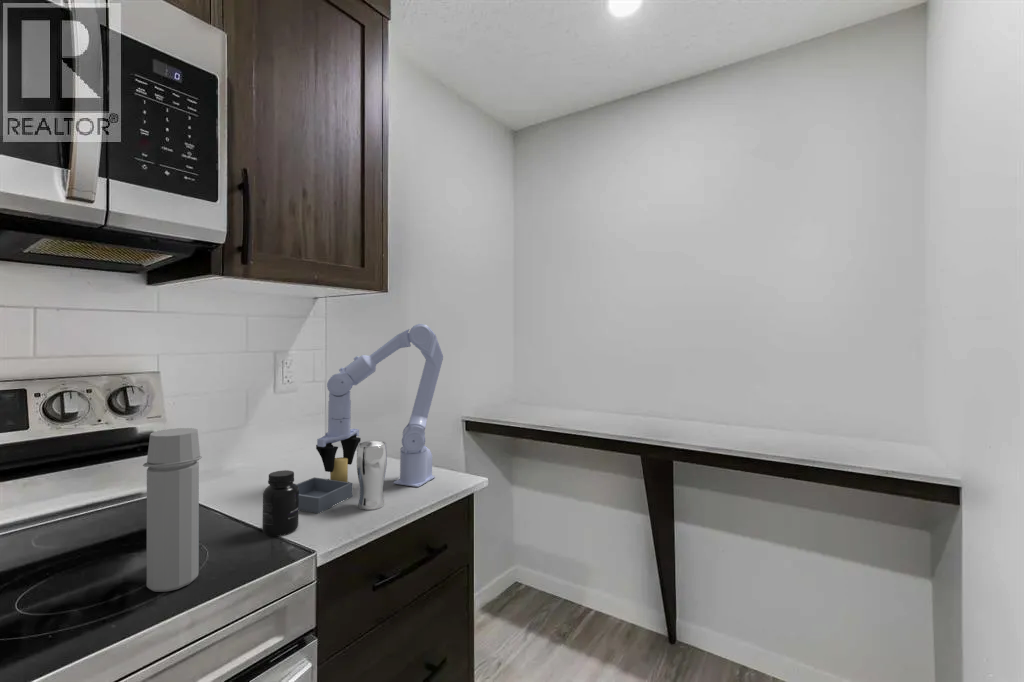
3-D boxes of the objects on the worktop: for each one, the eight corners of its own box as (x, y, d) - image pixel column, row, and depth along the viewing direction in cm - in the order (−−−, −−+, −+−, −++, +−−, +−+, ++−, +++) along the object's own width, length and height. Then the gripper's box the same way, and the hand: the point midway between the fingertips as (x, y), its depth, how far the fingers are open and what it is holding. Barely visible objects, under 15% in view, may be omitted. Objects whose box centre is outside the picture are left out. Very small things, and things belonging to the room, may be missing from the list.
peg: (337, 481, 131) (337, 456, 131) (350, 483, 130) (351, 458, 130) (326, 486, 127) (326, 460, 127) (340, 488, 126) (340, 462, 126)
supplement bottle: (300, 533, 98) (300, 475, 98) (262, 539, 95) (263, 480, 95) (296, 521, 104) (297, 467, 104) (261, 527, 101) (262, 471, 101)
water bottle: (207, 581, 79) (208, 432, 78) (148, 601, 73) (149, 439, 73) (191, 562, 85) (192, 424, 85) (136, 579, 79) (136, 430, 79)
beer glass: (349, 507, 113) (350, 444, 112) (371, 498, 119) (371, 438, 119) (371, 513, 110) (372, 448, 109) (392, 503, 116) (393, 442, 115)
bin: (314, 490, 124) (314, 477, 124) (352, 496, 120) (352, 482, 120) (277, 506, 113) (277, 491, 113) (318, 513, 109) (318, 498, 109)
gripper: (344, 412, 136) (344, 459, 137) (307, 420, 123) (307, 473, 123) (365, 414, 134) (364, 462, 134) (330, 423, 120) (329, 476, 121)
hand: (338, 467), depth 128 cm, fingers open, 7 cm apart
